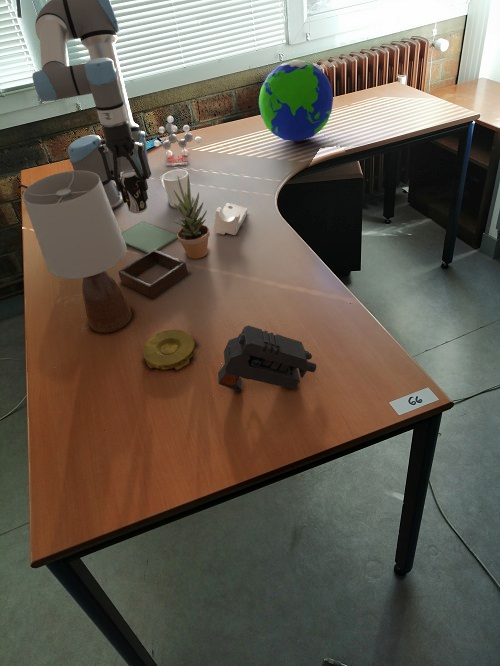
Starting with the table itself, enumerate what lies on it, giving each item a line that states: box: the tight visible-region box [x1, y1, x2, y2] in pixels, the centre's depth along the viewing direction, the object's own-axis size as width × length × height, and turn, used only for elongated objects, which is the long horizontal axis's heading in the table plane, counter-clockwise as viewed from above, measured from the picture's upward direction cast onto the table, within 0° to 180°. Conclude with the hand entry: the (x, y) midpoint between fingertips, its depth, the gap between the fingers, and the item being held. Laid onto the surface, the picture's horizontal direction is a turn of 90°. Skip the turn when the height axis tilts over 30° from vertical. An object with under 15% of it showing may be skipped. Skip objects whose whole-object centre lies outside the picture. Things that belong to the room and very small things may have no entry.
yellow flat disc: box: [142, 329, 196, 371], centre depth 118 cm, size 12×12×2 cm
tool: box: [217, 324, 317, 392], centre depth 105 cm, size 6×19×15 cm, turn 95°
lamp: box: [22, 170, 132, 334], centre depth 119 cm, size 19×19×37 cm
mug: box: [159, 168, 193, 209], centre depth 175 cm, size 11×9×10 cm
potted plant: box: [173, 174, 211, 260], centre depth 143 cm, size 10×10×25 cm
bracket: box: [213, 202, 249, 236], centre depth 160 cm, size 13×7×8 cm, turn 164°
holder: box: [117, 250, 189, 300], centre depth 142 cm, size 14×14×4 cm
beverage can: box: [120, 170, 148, 214], centre depth 151 cm, size 6×6×12 cm
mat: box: [121, 221, 178, 254], centre depth 161 cm, size 18×12×1 cm, turn 50°
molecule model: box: [153, 115, 202, 167], centre depth 204 cm, size 20×16×16 cm
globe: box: [258, 59, 334, 142], centre depth 202 cm, size 30×30×30 cm
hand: (136, 200), depth 153 cm, fingers closed on beverage can, 6 cm apart
